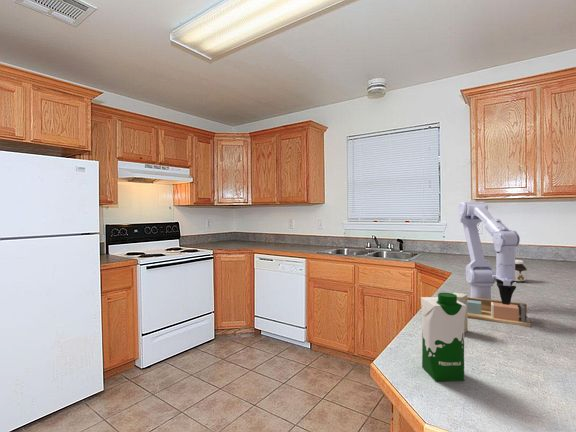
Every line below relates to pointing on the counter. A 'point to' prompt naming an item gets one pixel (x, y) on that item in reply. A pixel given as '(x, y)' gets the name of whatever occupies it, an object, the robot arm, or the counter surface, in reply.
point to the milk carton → (443, 337)
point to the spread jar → (520, 272)
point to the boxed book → (504, 311)
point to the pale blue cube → (474, 307)
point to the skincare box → (463, 299)
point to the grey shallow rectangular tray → (523, 314)
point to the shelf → (487, 312)
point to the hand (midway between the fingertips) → (505, 301)
